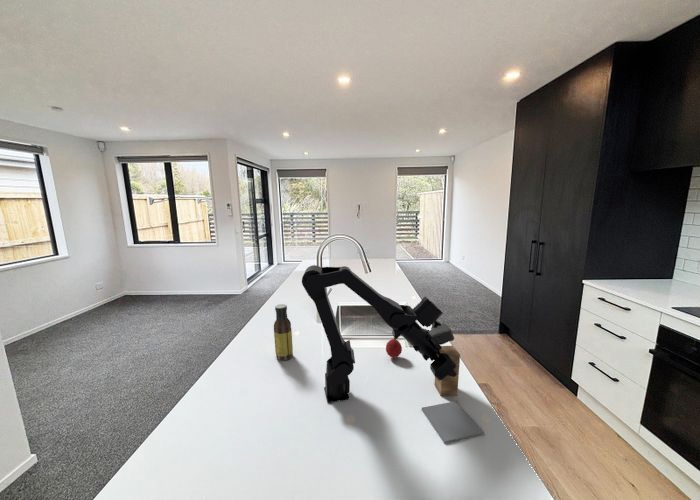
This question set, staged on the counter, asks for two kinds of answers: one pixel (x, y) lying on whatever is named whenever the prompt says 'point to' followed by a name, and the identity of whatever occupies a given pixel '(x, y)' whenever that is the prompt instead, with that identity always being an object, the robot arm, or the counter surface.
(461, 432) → the coaster
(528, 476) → the counter surface
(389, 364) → the counter surface
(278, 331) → the sauce bottle
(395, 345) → the onion
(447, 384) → the block
